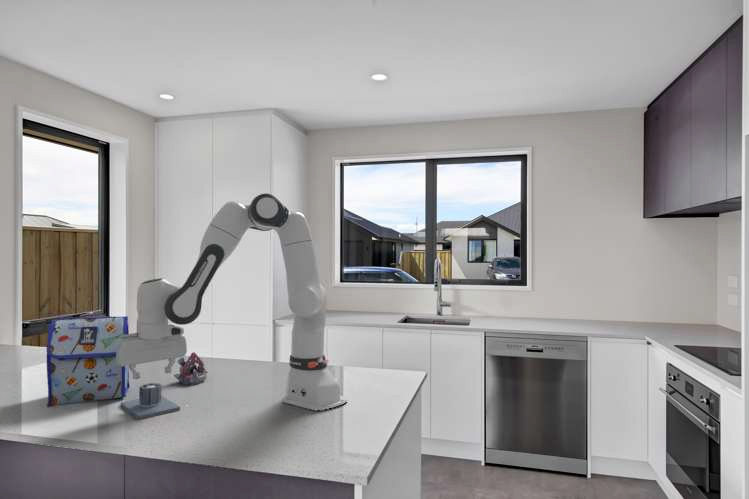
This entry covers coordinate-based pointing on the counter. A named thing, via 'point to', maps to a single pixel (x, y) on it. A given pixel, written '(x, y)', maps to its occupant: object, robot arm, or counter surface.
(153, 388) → the hub ring
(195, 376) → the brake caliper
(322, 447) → the counter surface
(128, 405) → the post block
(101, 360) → the lunch bag
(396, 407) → the counter surface
